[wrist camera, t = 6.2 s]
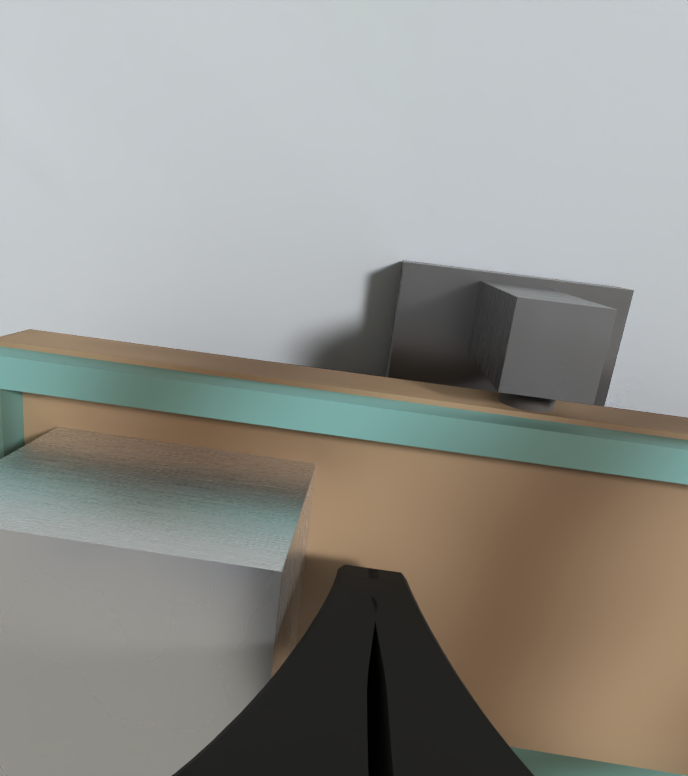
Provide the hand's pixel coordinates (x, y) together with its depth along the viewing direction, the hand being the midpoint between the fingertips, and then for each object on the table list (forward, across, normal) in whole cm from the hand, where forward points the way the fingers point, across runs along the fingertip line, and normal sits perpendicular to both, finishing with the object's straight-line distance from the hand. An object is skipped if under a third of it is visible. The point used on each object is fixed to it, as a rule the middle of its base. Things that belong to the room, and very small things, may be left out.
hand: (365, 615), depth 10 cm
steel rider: (+1, +4, 0) cm, 4 cm away
